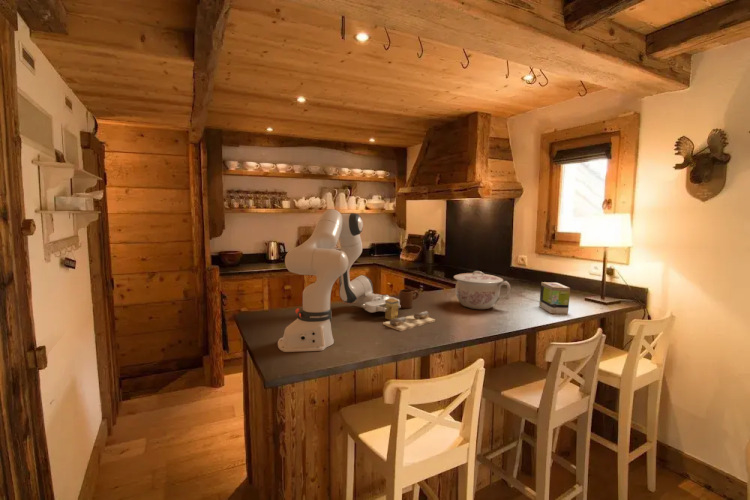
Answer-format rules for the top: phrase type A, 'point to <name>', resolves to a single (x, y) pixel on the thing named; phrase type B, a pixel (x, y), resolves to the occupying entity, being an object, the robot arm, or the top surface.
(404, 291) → the mug
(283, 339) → the robot arm
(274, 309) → the top surface
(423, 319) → the beige bumpy flat tray
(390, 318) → the pale yellow tall box
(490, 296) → the chamber pot
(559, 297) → the tea box
